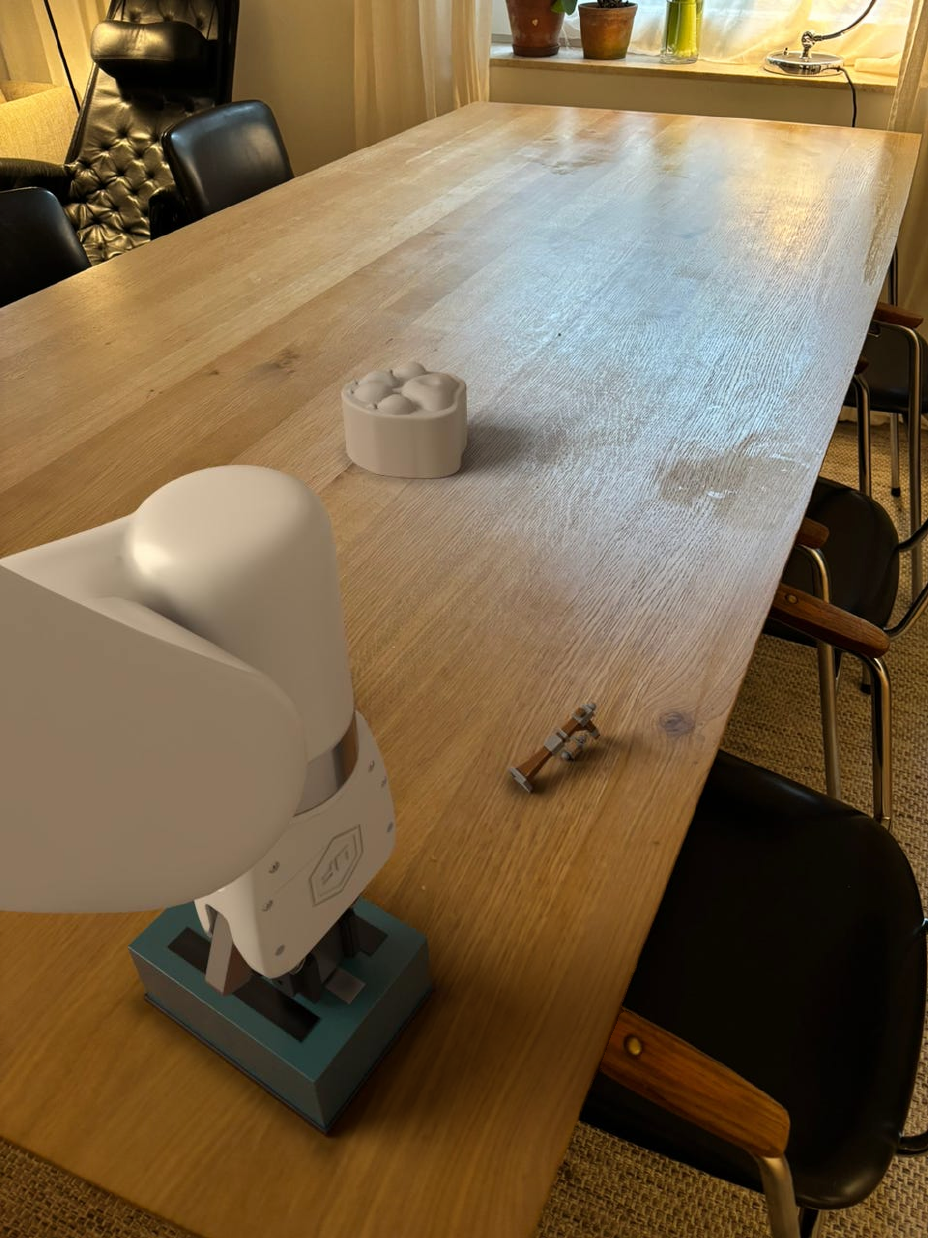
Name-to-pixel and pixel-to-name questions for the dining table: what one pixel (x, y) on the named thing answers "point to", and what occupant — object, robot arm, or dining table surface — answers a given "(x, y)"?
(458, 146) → the dining table surface
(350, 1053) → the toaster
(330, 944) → the slider
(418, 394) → the lumpy-topped squat cylinder
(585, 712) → the wooden post with brackets
